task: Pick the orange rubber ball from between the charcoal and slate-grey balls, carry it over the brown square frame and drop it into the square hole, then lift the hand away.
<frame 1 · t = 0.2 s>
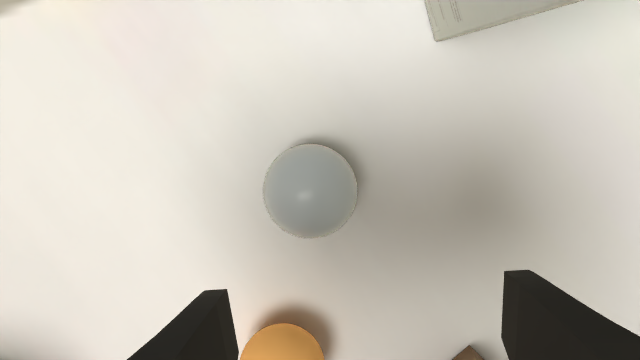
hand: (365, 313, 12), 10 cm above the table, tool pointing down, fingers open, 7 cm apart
slate ball: (310, 191, 20), point 2 cm above the table
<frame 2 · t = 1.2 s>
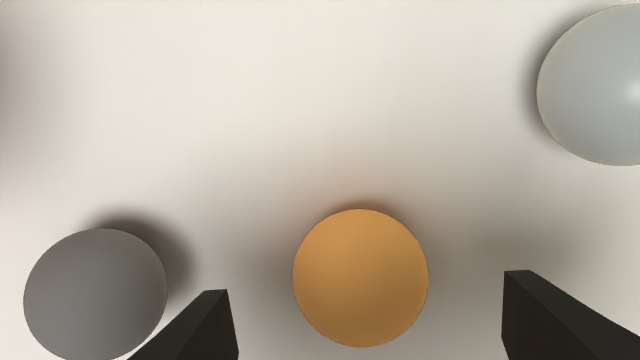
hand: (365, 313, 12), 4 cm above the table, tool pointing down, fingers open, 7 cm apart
slate ball: (622, 87, 12), point 2 cm above the table
charcoal ball: (99, 293, 15), point 2 cm above the table
ball: (359, 276, 14), point 2 cm above the table
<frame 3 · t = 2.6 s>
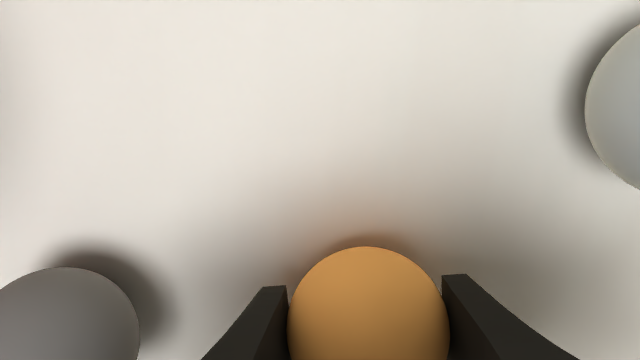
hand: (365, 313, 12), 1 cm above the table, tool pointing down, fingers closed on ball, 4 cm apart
charcoal ball: (57, 345, 12), point 2 cm above the table
ball: (366, 327, 12), point 2 cm above the table, touching gripper
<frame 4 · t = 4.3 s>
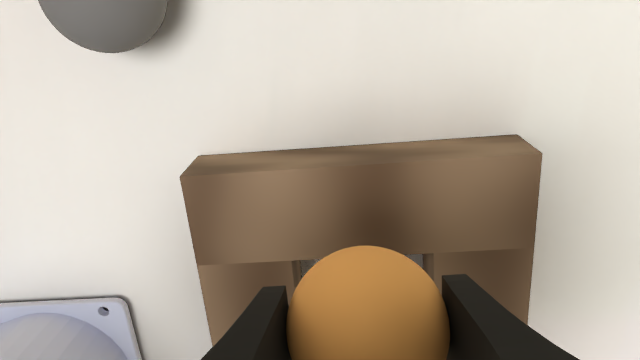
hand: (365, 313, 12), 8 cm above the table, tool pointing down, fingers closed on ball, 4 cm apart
brown square frame: (362, 282, 22), on the table
ball: (366, 326, 12), point 9 cm above the table, touching gripper
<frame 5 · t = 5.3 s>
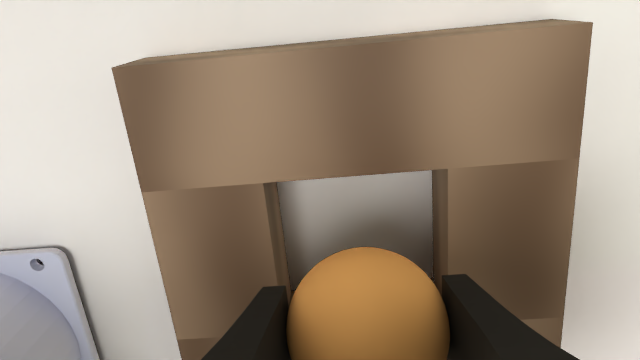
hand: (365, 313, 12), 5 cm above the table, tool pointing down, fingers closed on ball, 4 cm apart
brown square frame: (356, 222, 17), on the table
ball: (366, 328, 12), point 6 cm above the table, touching gripper
when the fingers open (5 cm above the table, at t = 6.0 s): ball drops 4 cm, point 2 cm above the table.
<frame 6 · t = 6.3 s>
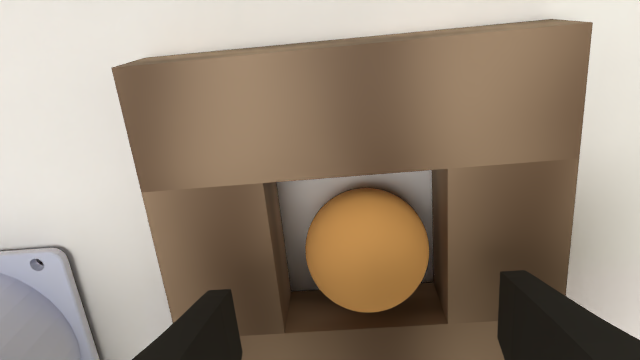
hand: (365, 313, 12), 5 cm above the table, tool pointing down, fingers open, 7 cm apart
brown square frame: (356, 222, 17), on the table
ball: (366, 249, 16), point 2 cm above the table, tilted 9°
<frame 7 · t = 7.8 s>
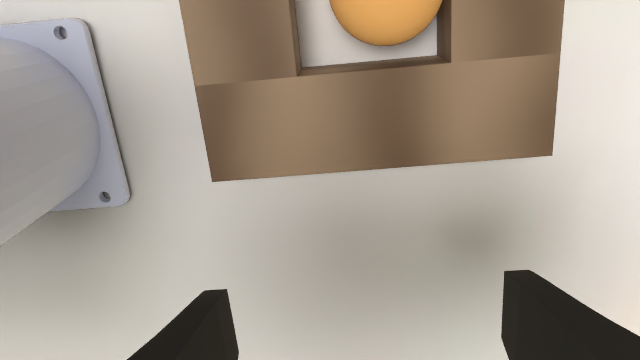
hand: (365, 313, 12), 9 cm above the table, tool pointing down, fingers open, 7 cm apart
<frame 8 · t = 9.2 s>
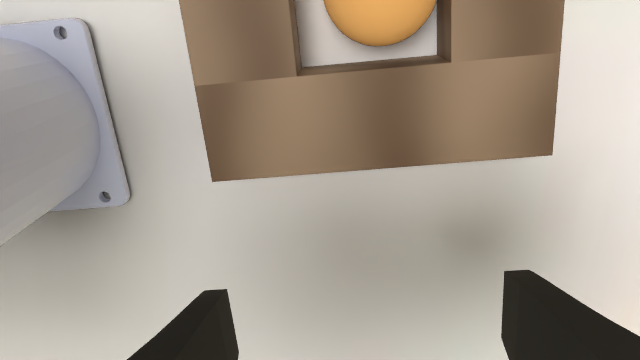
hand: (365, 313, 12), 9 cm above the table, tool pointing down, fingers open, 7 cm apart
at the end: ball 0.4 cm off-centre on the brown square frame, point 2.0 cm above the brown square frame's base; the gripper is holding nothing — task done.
